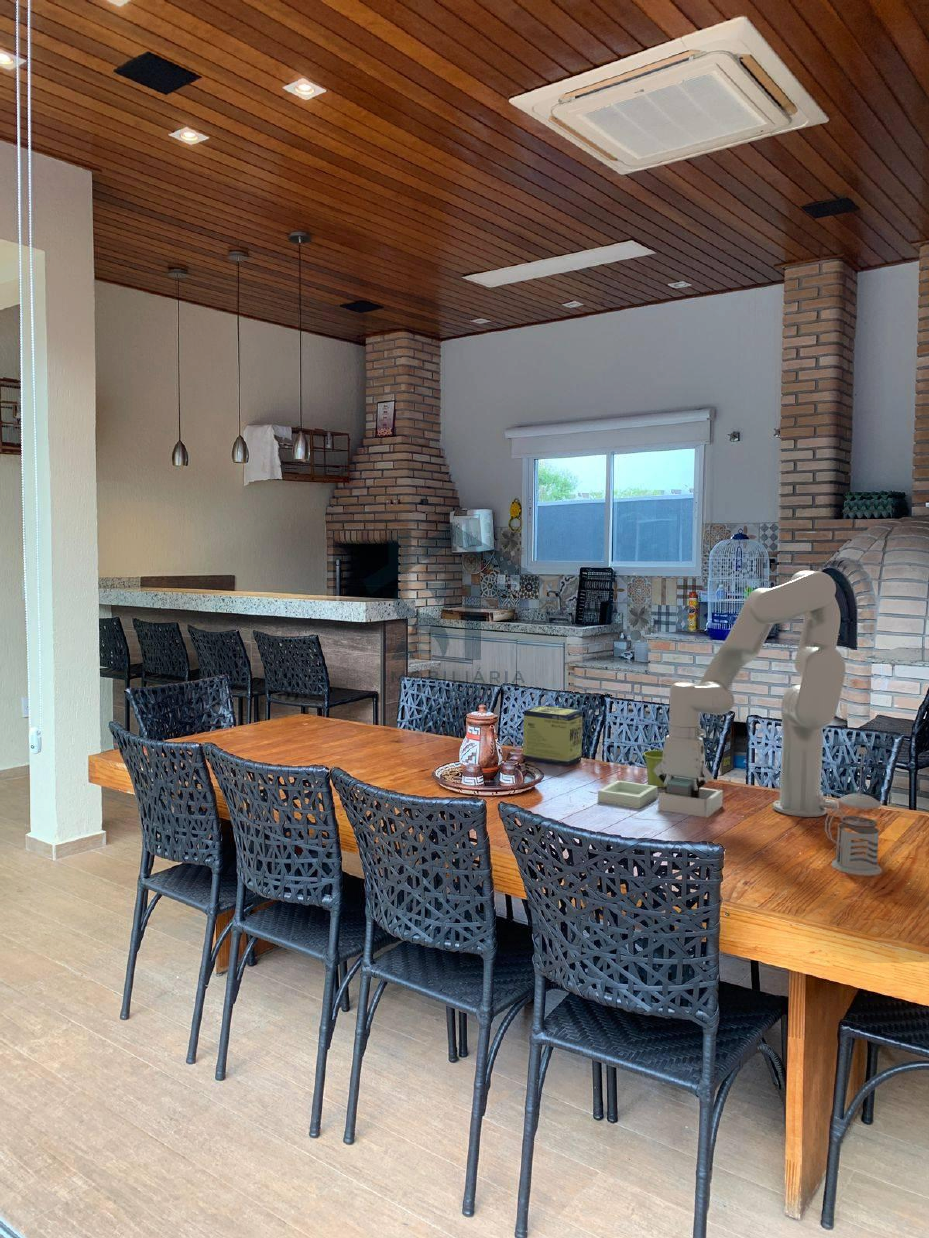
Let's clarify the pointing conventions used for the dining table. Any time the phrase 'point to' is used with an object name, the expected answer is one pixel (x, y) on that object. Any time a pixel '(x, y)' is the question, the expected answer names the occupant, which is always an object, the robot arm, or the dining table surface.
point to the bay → (692, 803)
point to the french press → (857, 835)
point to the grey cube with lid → (679, 786)
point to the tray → (627, 794)
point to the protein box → (552, 735)
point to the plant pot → (652, 761)
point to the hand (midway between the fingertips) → (681, 801)
